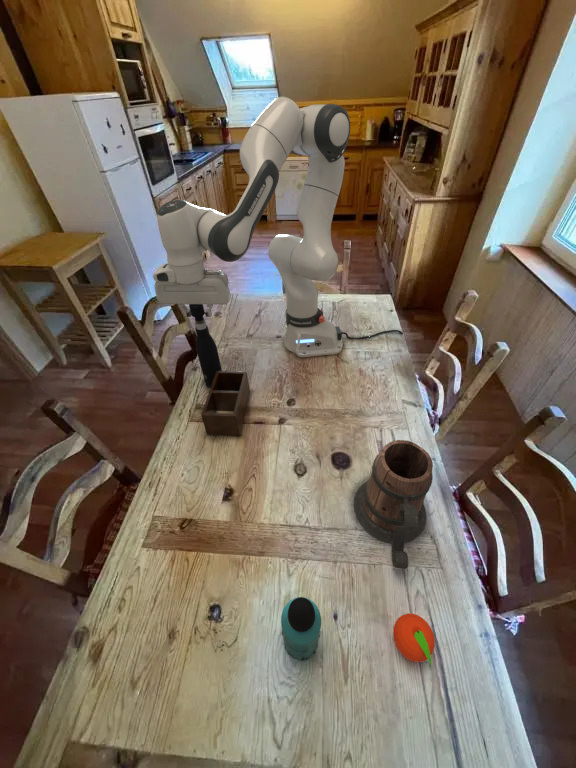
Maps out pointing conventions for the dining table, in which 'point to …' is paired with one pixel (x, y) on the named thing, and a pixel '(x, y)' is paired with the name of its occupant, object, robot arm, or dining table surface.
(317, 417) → the dining table surface
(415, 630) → the clementine
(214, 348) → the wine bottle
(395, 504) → the tankard
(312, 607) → the beverage bottle
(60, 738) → the dining table surface
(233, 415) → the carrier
